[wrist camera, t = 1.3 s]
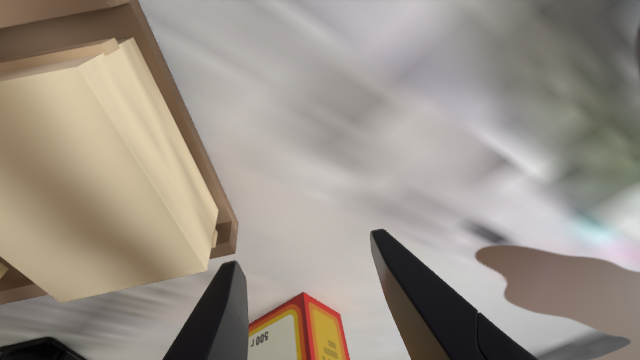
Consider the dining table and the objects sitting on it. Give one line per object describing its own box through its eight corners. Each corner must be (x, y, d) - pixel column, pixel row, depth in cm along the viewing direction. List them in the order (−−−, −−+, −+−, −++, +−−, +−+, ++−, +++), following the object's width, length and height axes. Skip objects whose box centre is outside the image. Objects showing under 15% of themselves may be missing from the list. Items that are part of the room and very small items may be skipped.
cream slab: (102, 238, 20) (62, 306, 16) (-53, 64, 13) (-194, 108, 9) (221, 213, 20) (210, 273, 16) (131, 29, 13) (74, 56, 9)
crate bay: (14, 270, 22) (-29, 322, 19) (-281, 42, 12) (-473, 69, 9) (238, 222, 22) (233, 265, 19) (123, -32, 13) (75, -31, 10)
